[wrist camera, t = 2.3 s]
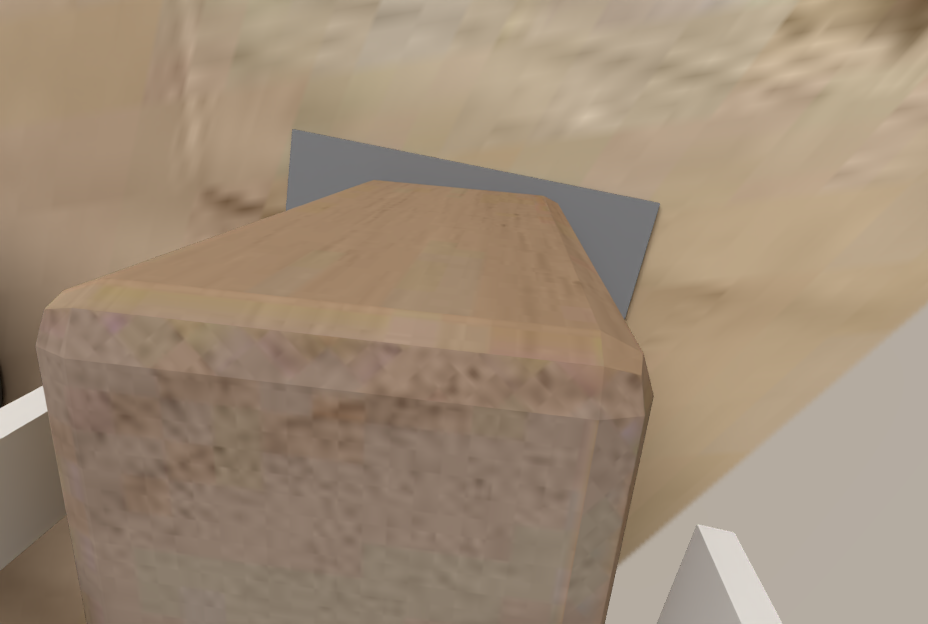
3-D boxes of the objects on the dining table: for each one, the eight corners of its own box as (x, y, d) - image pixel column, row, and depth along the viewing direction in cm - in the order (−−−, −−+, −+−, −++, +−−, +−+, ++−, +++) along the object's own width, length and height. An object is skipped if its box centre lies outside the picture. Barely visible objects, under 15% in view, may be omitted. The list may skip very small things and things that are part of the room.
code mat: (276, 351, 31) (274, 353, 30) (294, 129, 27) (292, 129, 26) (592, 418, 30) (593, 421, 30) (658, 202, 26) (660, 203, 26)
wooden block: (537, 383, 30) (576, 834, 11) (355, 362, 30) (85, 755, 11) (563, 195, 26) (686, 363, 7) (358, 176, 27) (-12, 287, 8)
